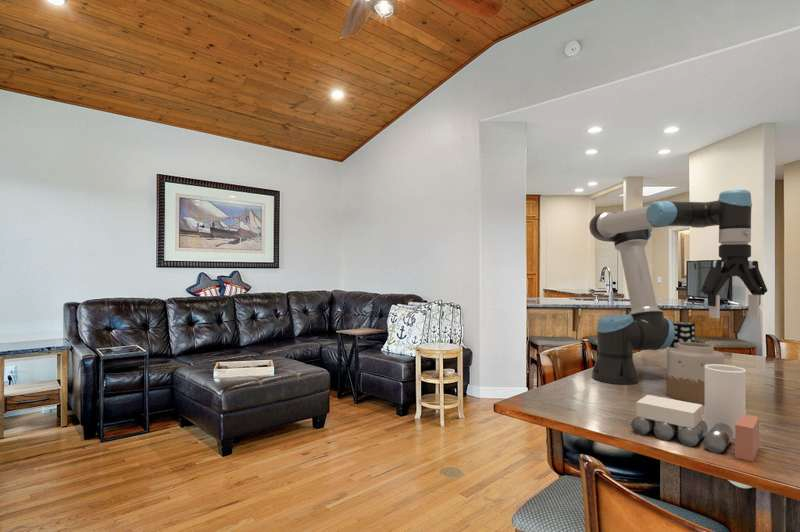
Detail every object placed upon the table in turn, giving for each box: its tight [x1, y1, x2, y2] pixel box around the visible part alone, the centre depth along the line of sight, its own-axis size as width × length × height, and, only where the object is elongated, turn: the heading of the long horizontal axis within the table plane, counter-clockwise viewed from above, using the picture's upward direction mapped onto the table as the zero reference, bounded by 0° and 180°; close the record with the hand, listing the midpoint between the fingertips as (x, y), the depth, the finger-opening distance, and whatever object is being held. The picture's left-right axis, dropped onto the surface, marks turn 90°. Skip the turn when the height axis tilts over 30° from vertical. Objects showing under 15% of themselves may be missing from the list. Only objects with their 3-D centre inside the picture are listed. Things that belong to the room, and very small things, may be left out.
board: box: [635, 394, 703, 429], centre depth 109 cm, size 12×9×4 cm
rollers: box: [631, 416, 733, 454], centre depth 107 cm, size 19×10×4 cm, turn 46°
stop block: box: [734, 414, 760, 463], centre depth 99 cm, size 3×10×7 cm, turn 135°
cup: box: [703, 364, 747, 440], centre depth 111 cm, size 8×8×16 cm
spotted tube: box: [668, 321, 696, 349], centre depth 170 cm, size 8×8×20 cm
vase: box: [665, 341, 726, 405], centre depth 141 cm, size 15×15×17 cm
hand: (734, 317), depth 130 cm, fingers open, 13 cm apart
